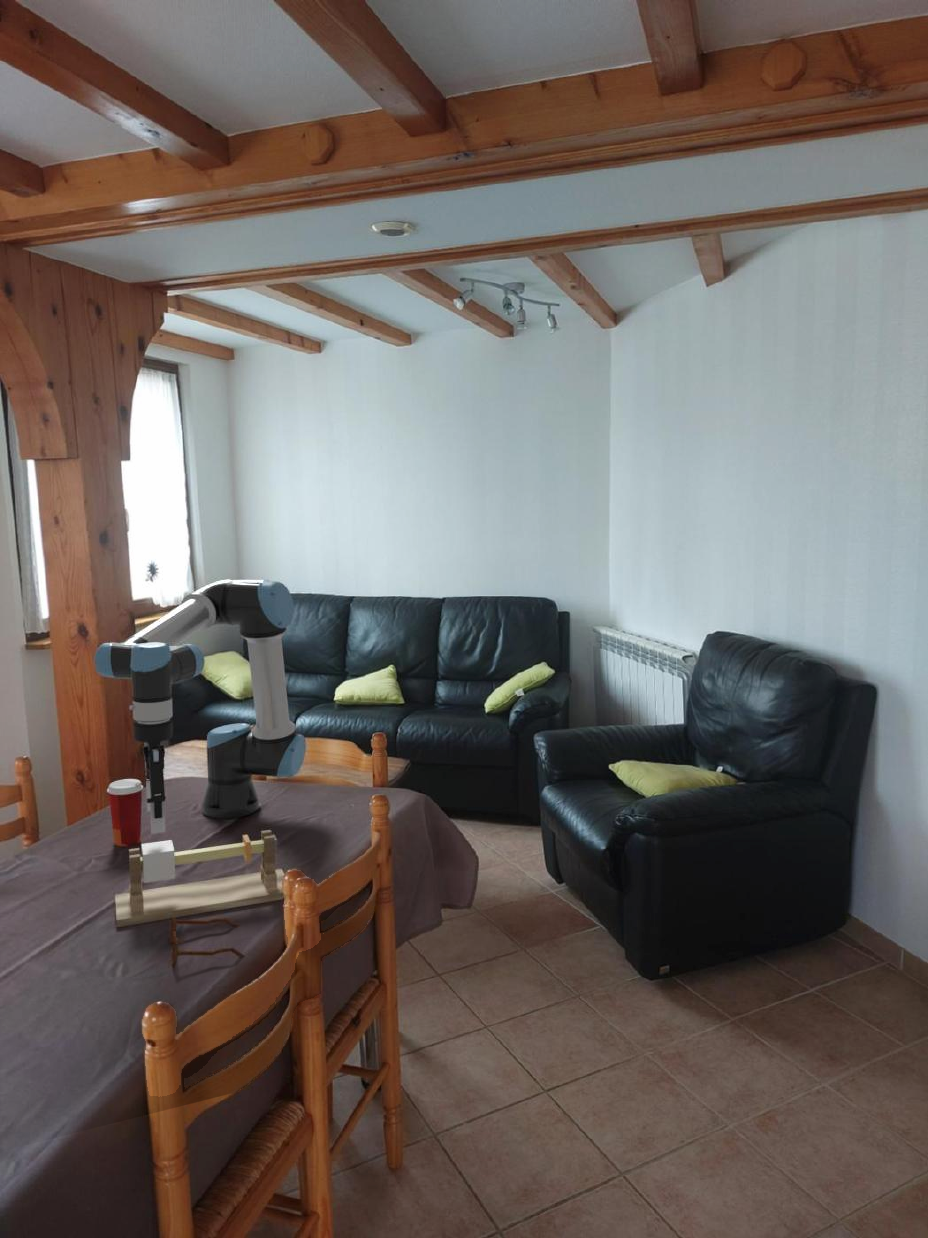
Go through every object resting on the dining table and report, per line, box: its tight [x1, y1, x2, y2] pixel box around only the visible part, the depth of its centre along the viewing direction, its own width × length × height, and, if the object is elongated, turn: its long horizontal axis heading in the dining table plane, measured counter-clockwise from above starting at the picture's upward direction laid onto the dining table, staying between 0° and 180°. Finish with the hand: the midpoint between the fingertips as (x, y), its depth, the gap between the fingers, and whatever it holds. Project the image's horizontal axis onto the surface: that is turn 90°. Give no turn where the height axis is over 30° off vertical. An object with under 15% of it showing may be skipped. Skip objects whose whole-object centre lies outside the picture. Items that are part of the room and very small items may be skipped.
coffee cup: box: [106, 778, 144, 848], centre depth 212 cm, size 8×8×15 cm
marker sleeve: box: [141, 839, 176, 884], centre depth 178 cm, size 6×6×6 cm
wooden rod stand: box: [114, 829, 285, 928], centre depth 182 cm, size 12×35×12 cm, turn 113°
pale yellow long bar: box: [140, 834, 278, 871], centre depth 181 cm, size 4×29×4 cm, turn 113°
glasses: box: [169, 917, 246, 967], centre depth 163 cm, size 13×13×5 cm
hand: (156, 821), depth 176 cm, fingers open, 13 cm apart
